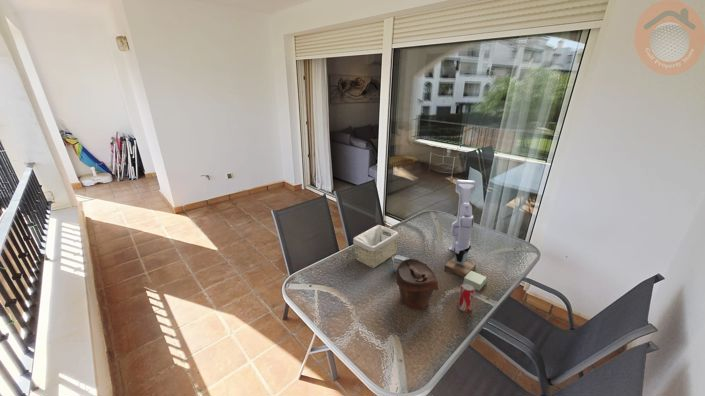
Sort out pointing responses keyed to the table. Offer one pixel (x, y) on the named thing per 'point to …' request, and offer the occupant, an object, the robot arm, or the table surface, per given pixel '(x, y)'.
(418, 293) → the brown lidded pot
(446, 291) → the table surface
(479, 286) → the sage block
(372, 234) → the storage basket
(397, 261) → the medicine box
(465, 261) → the slate block
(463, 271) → the walnut block
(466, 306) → the beverage can
